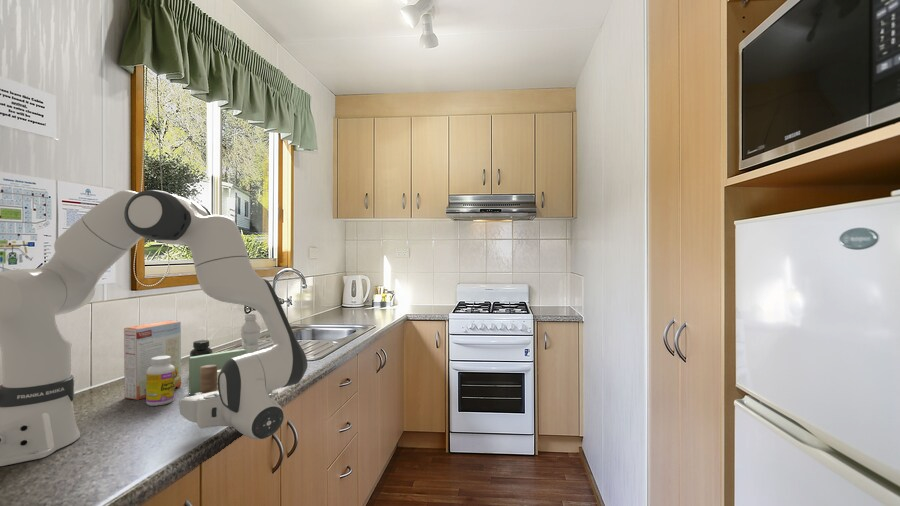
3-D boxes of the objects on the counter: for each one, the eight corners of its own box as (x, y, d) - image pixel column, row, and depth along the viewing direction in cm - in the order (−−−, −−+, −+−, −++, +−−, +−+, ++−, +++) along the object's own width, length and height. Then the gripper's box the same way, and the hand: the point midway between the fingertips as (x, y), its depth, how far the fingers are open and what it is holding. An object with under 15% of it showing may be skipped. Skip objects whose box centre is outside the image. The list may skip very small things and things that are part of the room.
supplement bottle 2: (187, 375, 149) (187, 341, 149) (209, 371, 154) (209, 338, 154) (192, 379, 144) (192, 344, 144) (214, 376, 149) (214, 341, 149)
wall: (190, 394, 129) (191, 358, 129) (188, 393, 130) (189, 357, 130) (245, 383, 140) (245, 349, 140) (243, 382, 142) (243, 348, 142)
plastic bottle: (242, 367, 160) (243, 313, 160) (262, 366, 161) (262, 313, 161) (237, 372, 153) (237, 316, 153) (257, 371, 155) (258, 316, 155)
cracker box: (168, 384, 139) (168, 320, 139) (181, 386, 137) (182, 321, 137) (122, 398, 125) (123, 326, 125) (136, 400, 123) (137, 328, 123)
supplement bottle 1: (160, 407, 118) (160, 360, 118) (140, 405, 119) (140, 359, 120) (180, 399, 125) (180, 355, 125) (160, 397, 126) (161, 354, 126)
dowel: (202, 415, 113) (203, 369, 113) (197, 411, 116) (198, 366, 116) (219, 411, 116) (219, 366, 116) (213, 407, 119) (214, 363, 119)
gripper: (281, 382, 109) (258, 371, 118) (191, 401, 94) (173, 387, 103) (281, 406, 109) (258, 394, 118) (191, 430, 94) (172, 414, 103)
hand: (217, 391), depth 111 cm, fingers open, 8 cm apart
